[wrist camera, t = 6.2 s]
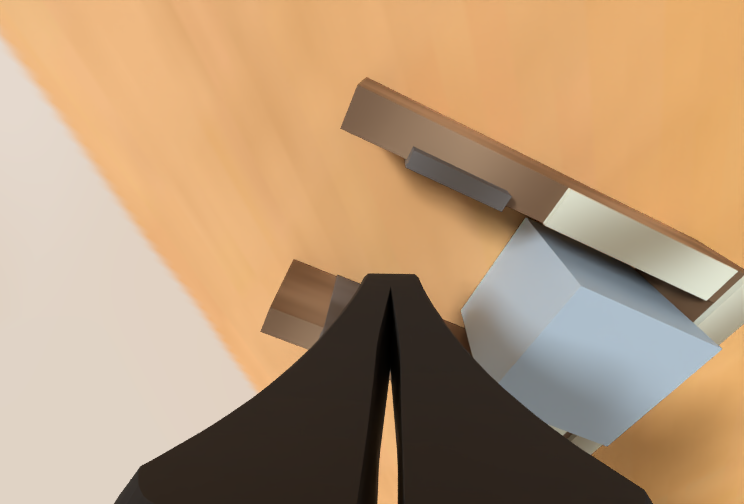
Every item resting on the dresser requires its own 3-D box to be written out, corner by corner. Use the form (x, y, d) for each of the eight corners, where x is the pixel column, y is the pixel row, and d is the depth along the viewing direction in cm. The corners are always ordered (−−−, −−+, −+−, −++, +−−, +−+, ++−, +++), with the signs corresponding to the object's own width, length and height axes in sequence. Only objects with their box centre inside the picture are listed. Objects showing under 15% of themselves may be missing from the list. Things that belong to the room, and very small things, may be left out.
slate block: (629, 265, 16) (722, 348, 11) (554, 349, 18) (606, 446, 13) (526, 217, 15) (580, 286, 11) (460, 310, 17) (483, 399, 13)
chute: (696, 239, 15) (789, 297, 11) (554, 387, 19) (591, 463, 15) (366, 77, 13) (355, 85, 9) (285, 280, 17) (256, 341, 13)
